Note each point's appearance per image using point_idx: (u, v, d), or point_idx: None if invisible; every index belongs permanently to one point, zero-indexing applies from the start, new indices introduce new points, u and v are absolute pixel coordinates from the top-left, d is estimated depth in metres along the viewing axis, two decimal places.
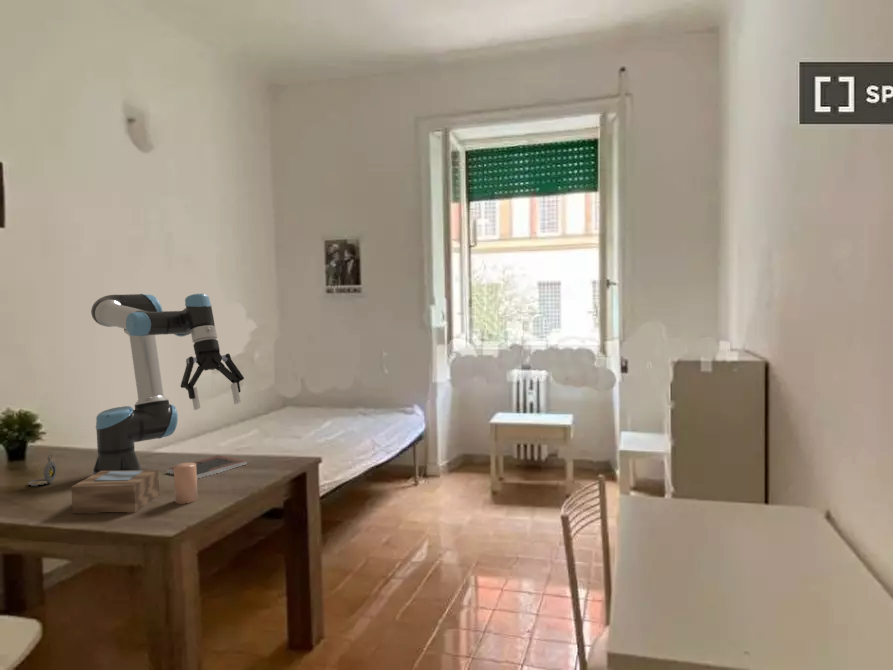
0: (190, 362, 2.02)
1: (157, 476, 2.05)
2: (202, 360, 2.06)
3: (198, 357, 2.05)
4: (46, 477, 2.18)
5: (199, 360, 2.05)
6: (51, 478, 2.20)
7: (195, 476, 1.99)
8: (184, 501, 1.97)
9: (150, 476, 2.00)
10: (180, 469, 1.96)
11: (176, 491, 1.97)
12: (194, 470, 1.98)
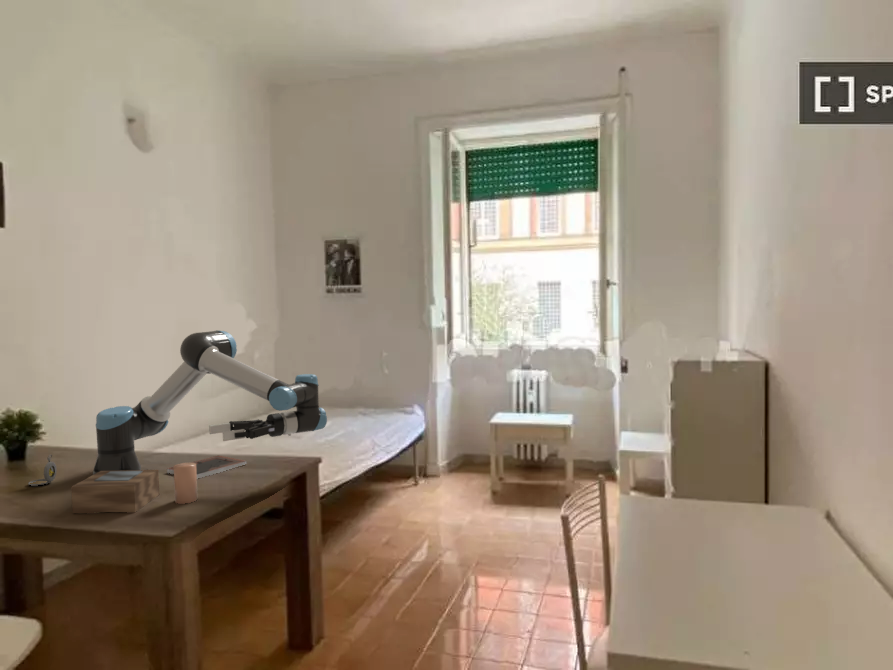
0: (268, 433, 2.08)
1: (157, 476, 2.05)
2: None
3: None
4: (46, 477, 2.18)
5: None
6: (51, 478, 2.20)
7: (195, 476, 1.99)
8: (184, 501, 1.97)
9: (150, 476, 2.00)
10: (180, 469, 1.96)
11: (176, 491, 1.97)
12: (194, 470, 1.98)
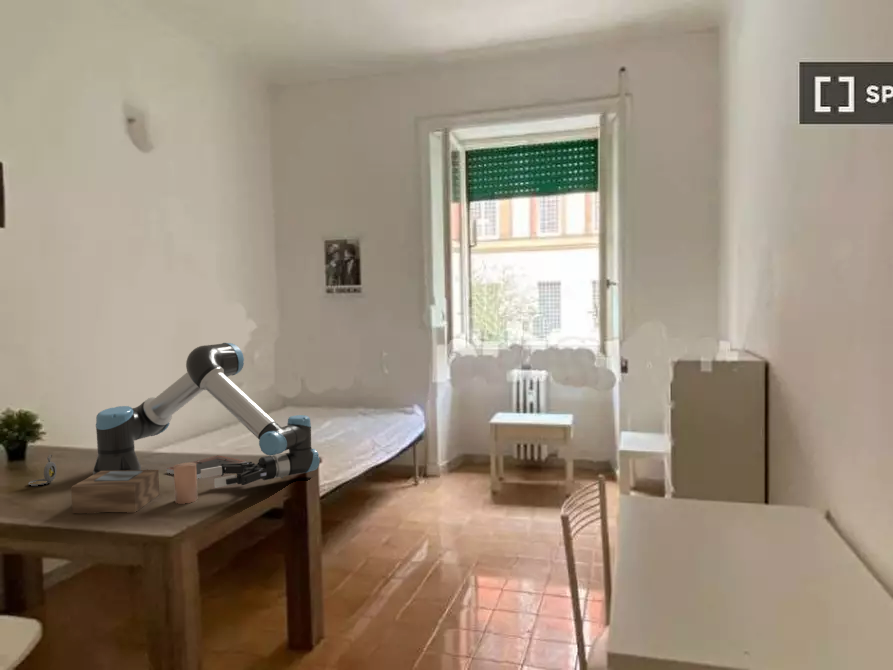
0: (260, 478, 2.06)
1: (157, 476, 2.05)
2: None
3: None
4: (46, 477, 2.18)
5: None
6: (51, 478, 2.20)
7: (195, 476, 1.99)
8: (184, 501, 1.97)
9: (150, 476, 2.00)
10: (180, 469, 1.96)
11: (176, 491, 1.97)
12: (194, 470, 1.98)
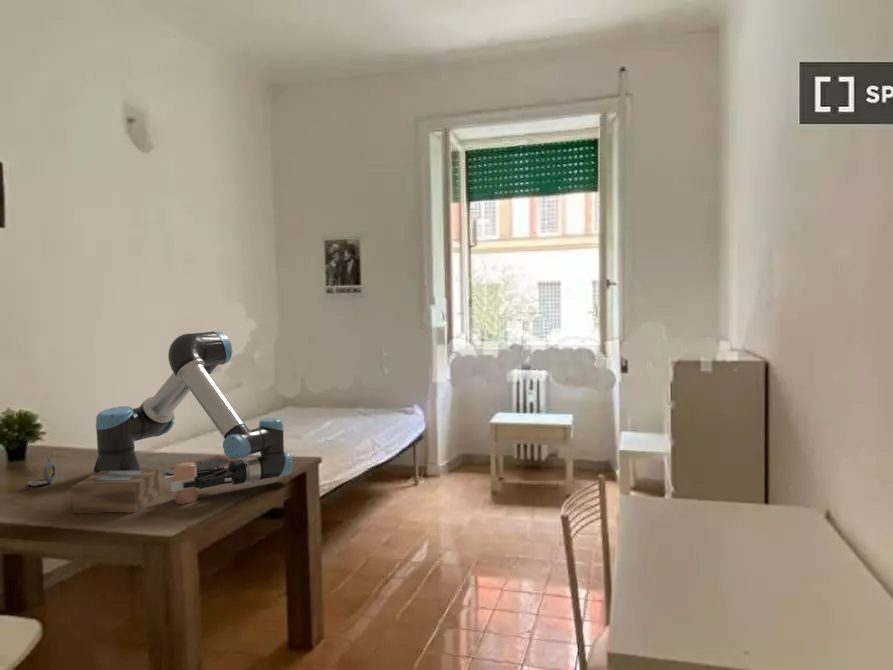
0: (224, 483, 2.00)
1: (157, 476, 2.05)
2: None
3: None
4: (46, 477, 2.18)
5: None
6: (51, 478, 2.20)
7: (195, 476, 1.99)
8: (184, 501, 1.97)
9: (150, 476, 2.00)
10: (180, 469, 1.96)
11: (176, 491, 1.97)
12: (194, 470, 1.98)
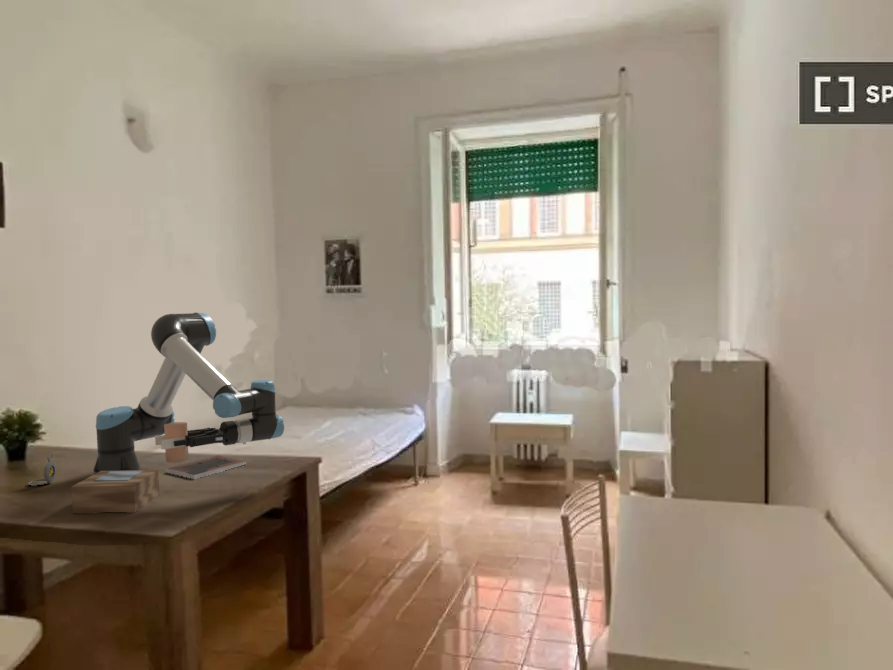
0: (215, 442, 1.99)
1: (157, 476, 2.05)
2: None
3: None
4: (46, 477, 2.18)
5: None
6: (51, 478, 2.20)
7: None
8: (175, 460, 1.95)
9: (150, 476, 2.00)
10: (171, 427, 1.95)
11: (167, 450, 1.96)
12: (185, 428, 1.97)
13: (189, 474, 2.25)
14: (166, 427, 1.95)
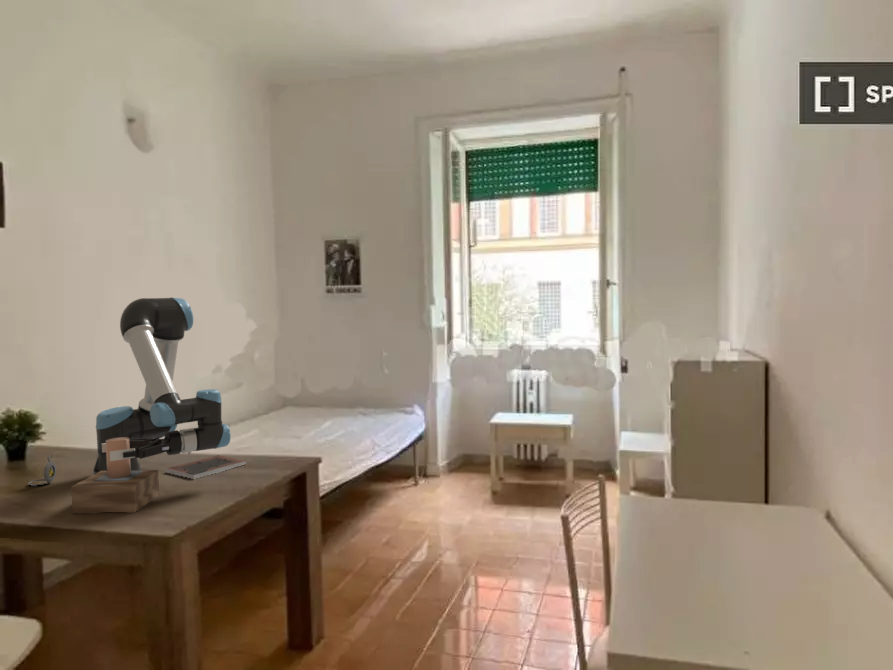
0: (162, 452, 2.00)
1: (157, 476, 2.05)
2: None
3: None
4: (46, 477, 2.18)
5: None
6: (51, 478, 2.20)
7: None
8: (116, 475, 1.96)
9: (150, 476, 2.00)
10: (112, 443, 1.95)
11: (108, 465, 1.96)
12: (126, 444, 1.98)
13: (188, 474, 2.25)
14: (107, 443, 1.96)
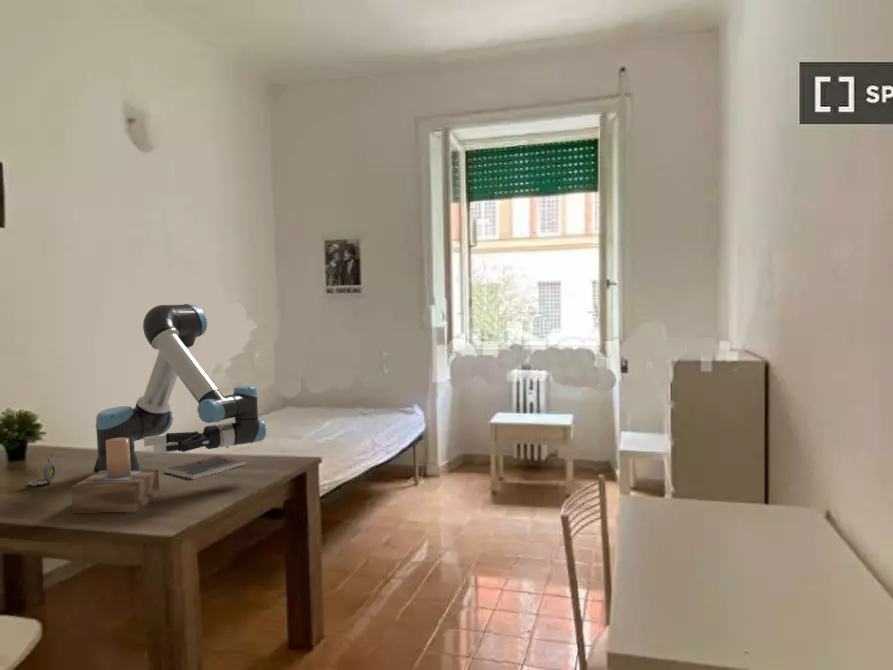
0: (203, 446, 2.07)
1: (157, 476, 2.05)
2: None
3: None
4: (46, 477, 2.18)
5: None
6: (51, 478, 2.20)
7: (128, 450, 1.98)
8: (116, 475, 1.96)
9: (150, 476, 2.00)
10: (112, 443, 1.95)
11: (108, 465, 1.96)
12: (126, 444, 1.98)
13: (188, 474, 2.25)
14: (107, 443, 1.96)
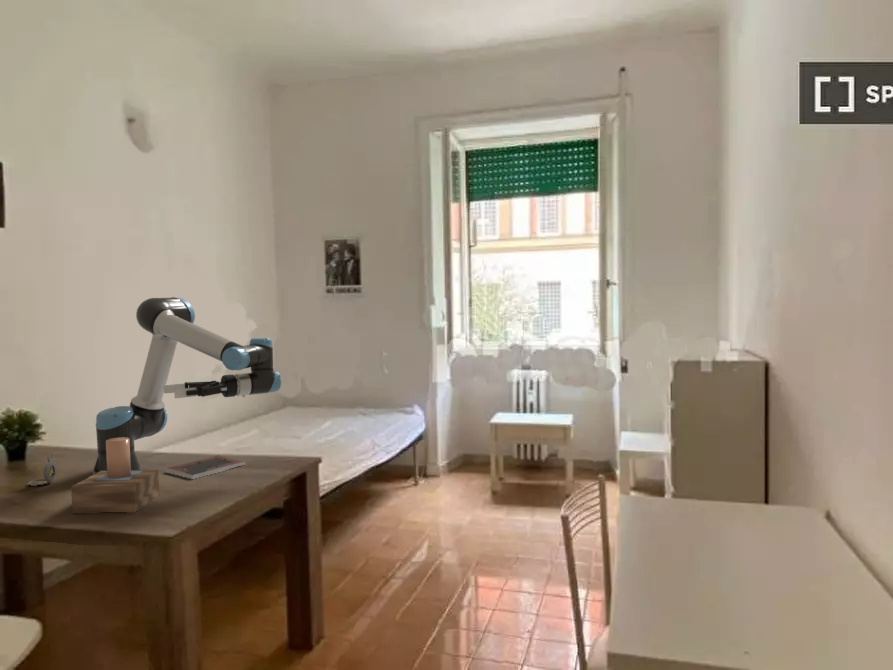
0: None
1: (157, 476, 2.05)
2: None
3: None
4: (46, 477, 2.18)
5: None
6: (51, 478, 2.20)
7: (128, 451, 1.98)
8: (116, 475, 1.96)
9: (150, 476, 2.00)
10: (112, 443, 1.95)
11: (108, 465, 1.96)
12: (126, 444, 1.98)
13: (188, 474, 2.25)
14: (107, 443, 1.96)
